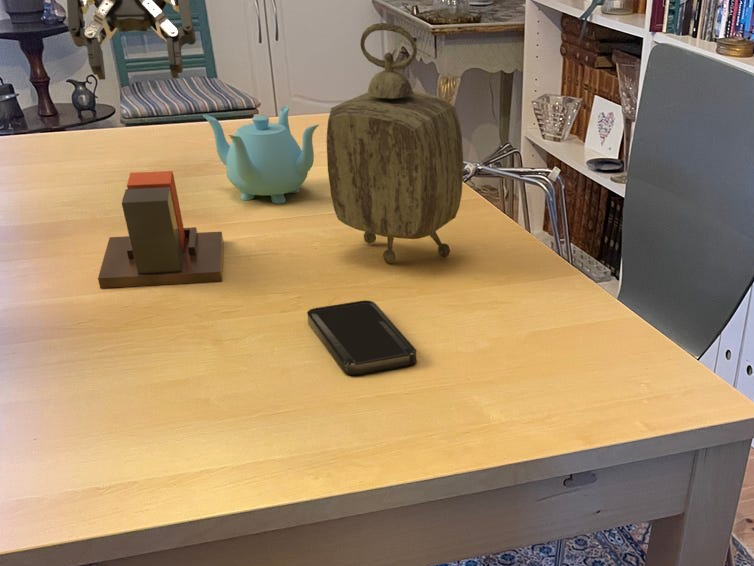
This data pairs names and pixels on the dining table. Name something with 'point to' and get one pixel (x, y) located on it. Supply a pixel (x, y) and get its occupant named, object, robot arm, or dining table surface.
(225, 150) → the teapot
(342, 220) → the tabletop clock
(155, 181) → the terracotta block
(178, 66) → the robot arm
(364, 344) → the phone
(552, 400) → the dining table surface
